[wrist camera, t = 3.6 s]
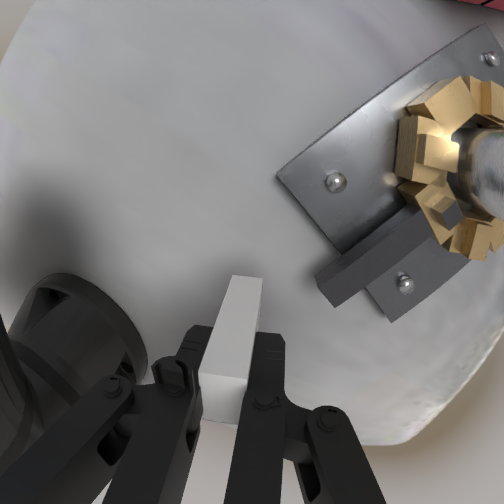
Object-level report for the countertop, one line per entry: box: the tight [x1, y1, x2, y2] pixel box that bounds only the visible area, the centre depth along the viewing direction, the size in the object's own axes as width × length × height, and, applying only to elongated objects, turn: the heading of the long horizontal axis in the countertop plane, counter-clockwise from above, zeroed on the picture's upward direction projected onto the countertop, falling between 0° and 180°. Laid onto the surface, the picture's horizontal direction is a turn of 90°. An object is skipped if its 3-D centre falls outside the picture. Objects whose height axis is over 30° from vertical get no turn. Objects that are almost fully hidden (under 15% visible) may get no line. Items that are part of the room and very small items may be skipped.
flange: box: [277, 23, 504, 323], centre depth 12 cm, size 22×14×8 cm, turn 132°
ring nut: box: [315, 75, 504, 308], centre depth 14 cm, size 18×11×4 cm, turn 132°
